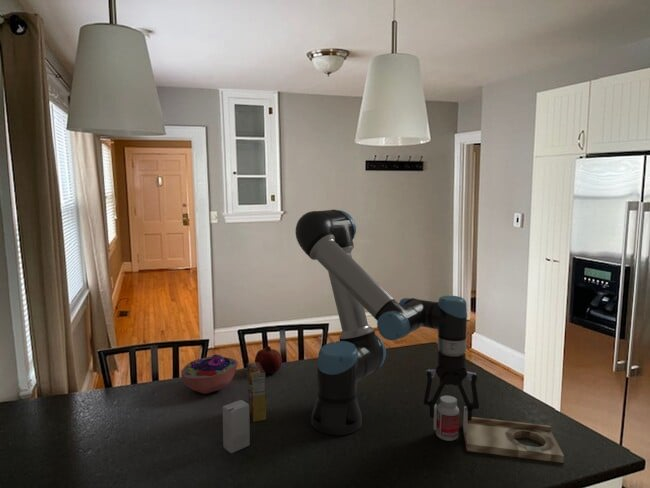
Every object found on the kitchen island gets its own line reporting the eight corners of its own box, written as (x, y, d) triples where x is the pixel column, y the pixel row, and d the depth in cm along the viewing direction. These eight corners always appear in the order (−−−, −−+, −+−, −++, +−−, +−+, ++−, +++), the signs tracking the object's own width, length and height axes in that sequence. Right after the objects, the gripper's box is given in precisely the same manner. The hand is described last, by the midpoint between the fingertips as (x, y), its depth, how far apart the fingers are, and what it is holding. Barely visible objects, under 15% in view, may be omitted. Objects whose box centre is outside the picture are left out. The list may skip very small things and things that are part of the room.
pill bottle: (462, 437, 128) (464, 400, 127) (448, 444, 125) (449, 406, 124) (445, 427, 133) (447, 392, 132) (431, 433, 130) (432, 397, 129)
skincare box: (241, 439, 126) (241, 398, 125) (250, 446, 123) (250, 404, 121) (222, 447, 122) (221, 405, 120) (231, 455, 119) (230, 411, 117)
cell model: (170, 391, 155) (169, 359, 154) (219, 373, 170) (218, 344, 169) (199, 407, 144) (198, 373, 143) (248, 386, 159) (247, 356, 158)
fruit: (249, 371, 172) (249, 346, 171) (270, 365, 179) (270, 340, 178) (265, 380, 164) (265, 354, 163) (287, 373, 171) (287, 347, 170)
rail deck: (466, 450, 122) (467, 439, 121) (462, 426, 135) (463, 415, 134) (563, 462, 117) (564, 451, 117) (549, 436, 130) (550, 425, 129)
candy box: (247, 408, 143) (246, 362, 142) (260, 406, 145) (260, 361, 143) (252, 422, 135) (251, 373, 133) (266, 420, 137) (266, 372, 135)
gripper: (414, 354, 124) (413, 432, 127) (492, 359, 120) (489, 439, 123) (414, 345, 132) (413, 419, 135) (488, 349, 128) (486, 425, 130)
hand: (450, 428), depth 129 cm, fingers open, 8 cm apart
